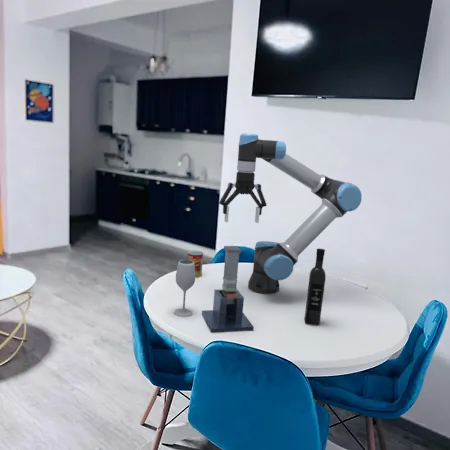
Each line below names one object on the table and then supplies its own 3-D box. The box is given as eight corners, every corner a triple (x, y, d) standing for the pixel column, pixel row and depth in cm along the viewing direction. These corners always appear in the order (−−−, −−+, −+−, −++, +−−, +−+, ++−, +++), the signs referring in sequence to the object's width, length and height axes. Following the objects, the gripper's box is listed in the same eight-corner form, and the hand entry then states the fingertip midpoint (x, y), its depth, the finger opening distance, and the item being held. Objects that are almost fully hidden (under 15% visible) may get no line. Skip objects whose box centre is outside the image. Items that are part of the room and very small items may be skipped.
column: (232, 299, 155) (237, 246, 151) (236, 304, 151) (241, 249, 146) (219, 299, 154) (224, 246, 150) (223, 304, 149) (227, 249, 145)
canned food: (185, 272, 208) (186, 250, 206) (200, 272, 210) (201, 250, 208) (187, 277, 200) (188, 254, 198) (202, 277, 202) (204, 254, 200)
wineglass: (196, 311, 162) (199, 260, 158) (188, 318, 155) (191, 266, 151) (178, 307, 164) (181, 257, 160) (170, 314, 157) (173, 262, 153)
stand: (240, 312, 164) (242, 282, 161) (253, 330, 149) (256, 298, 146) (201, 314, 159) (203, 283, 157) (211, 332, 144) (213, 299, 142)
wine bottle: (319, 326, 156) (329, 252, 151) (304, 324, 157) (314, 250, 151) (318, 320, 162) (327, 248, 156) (303, 318, 163) (312, 246, 157)
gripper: (270, 172, 173) (265, 220, 178) (214, 169, 166) (210, 219, 171) (277, 174, 166) (272, 224, 170) (219, 170, 159) (215, 223, 164)
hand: (241, 222), depth 171 cm, fingers open, 13 cm apart
